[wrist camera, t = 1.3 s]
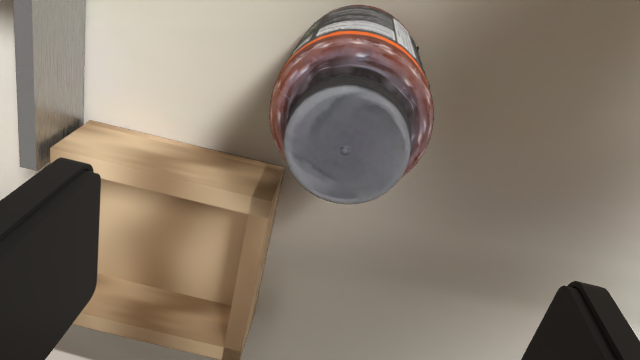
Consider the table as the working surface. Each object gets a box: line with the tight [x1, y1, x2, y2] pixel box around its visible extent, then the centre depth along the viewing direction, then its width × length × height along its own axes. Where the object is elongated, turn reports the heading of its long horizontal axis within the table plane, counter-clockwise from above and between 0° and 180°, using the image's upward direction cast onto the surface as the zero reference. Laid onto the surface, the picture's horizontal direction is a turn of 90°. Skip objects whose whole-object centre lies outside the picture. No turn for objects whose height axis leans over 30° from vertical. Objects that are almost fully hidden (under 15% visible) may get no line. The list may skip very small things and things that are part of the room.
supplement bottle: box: [269, 5, 434, 204], centre depth 22 cm, size 6×6×11 cm
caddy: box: [50, 120, 285, 360], centre depth 30 cm, size 11×11×4 cm
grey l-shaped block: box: [13, 0, 85, 171], centre depth 25 cm, size 4×10×4 cm, turn 168°
